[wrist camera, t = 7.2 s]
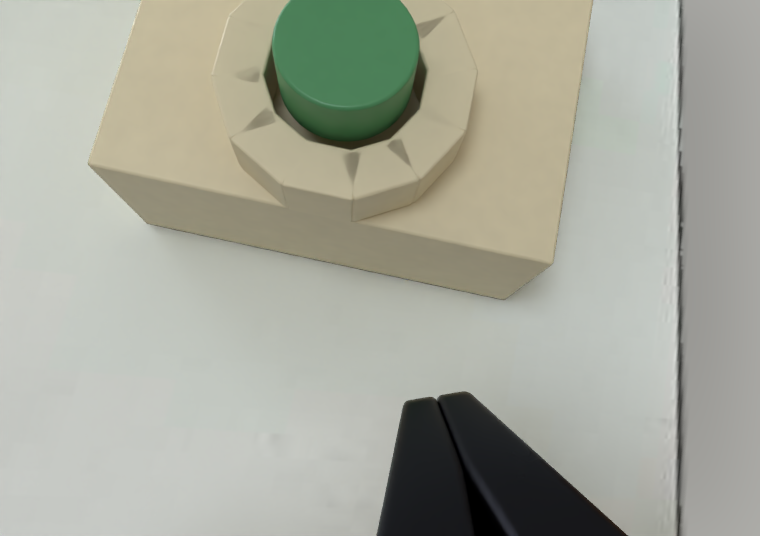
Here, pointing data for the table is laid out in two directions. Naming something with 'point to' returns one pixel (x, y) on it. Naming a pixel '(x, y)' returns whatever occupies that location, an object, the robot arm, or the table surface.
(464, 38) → the box
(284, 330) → the table surface
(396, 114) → the power button
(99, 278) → the table surface
